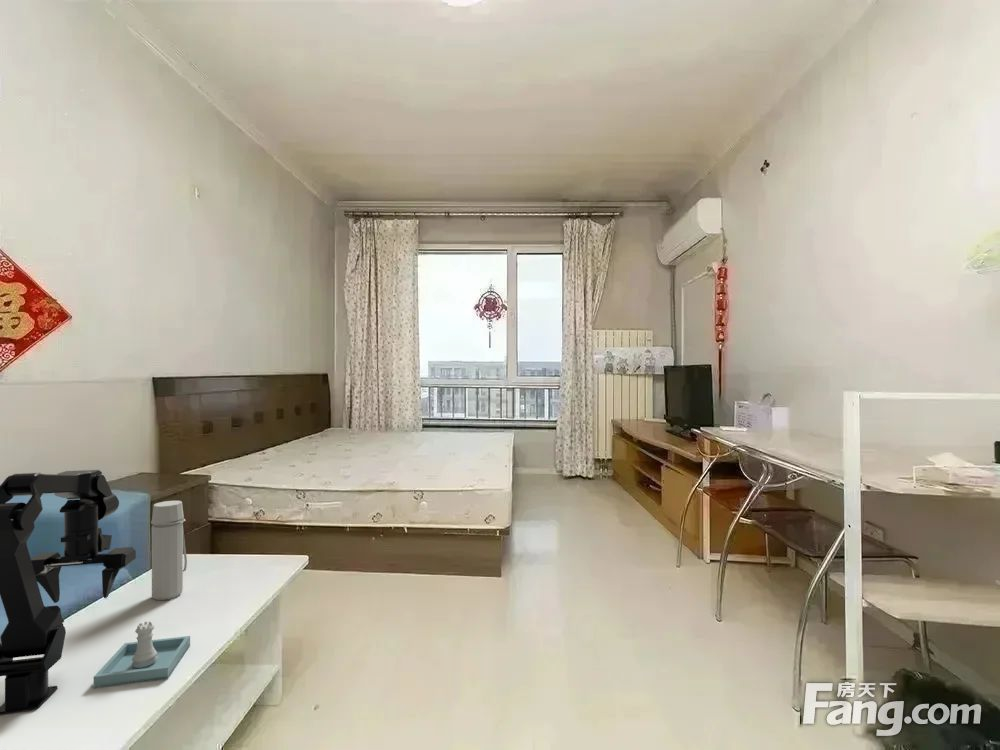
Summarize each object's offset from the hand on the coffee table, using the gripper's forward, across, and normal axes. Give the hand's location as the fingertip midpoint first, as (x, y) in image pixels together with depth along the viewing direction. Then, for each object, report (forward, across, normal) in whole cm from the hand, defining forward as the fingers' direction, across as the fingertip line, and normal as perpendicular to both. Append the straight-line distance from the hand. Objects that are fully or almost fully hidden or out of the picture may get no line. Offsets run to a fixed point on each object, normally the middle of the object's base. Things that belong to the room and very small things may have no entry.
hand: (81, 599), depth 111 cm
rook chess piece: (+11, -16, +10) cm, 22 cm away
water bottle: (+11, -8, -27) cm, 30 cm away
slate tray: (+11, -16, +10) cm, 22 cm away
